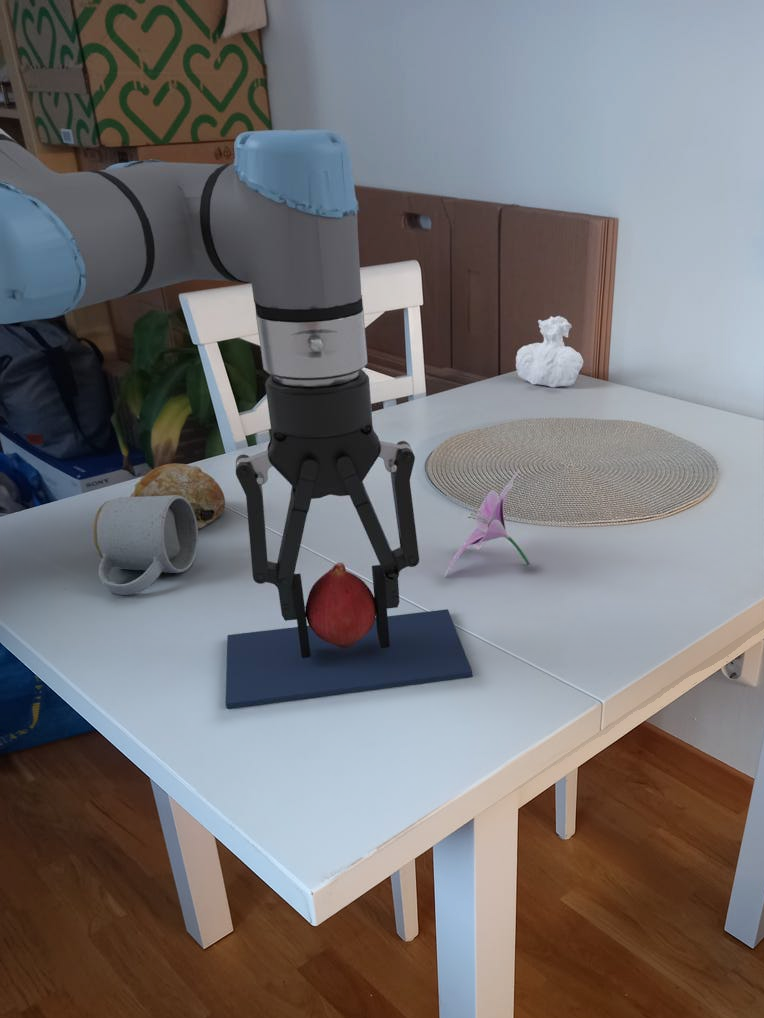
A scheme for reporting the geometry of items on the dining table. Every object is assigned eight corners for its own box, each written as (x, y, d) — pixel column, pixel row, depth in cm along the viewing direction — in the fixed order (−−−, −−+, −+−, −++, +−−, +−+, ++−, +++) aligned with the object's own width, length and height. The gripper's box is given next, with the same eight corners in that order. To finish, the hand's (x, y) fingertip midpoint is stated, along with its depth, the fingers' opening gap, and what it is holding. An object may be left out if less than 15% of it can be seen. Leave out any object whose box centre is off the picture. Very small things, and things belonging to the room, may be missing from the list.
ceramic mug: (131, 548, 99) (115, 481, 95) (204, 552, 98) (191, 484, 94) (82, 597, 90) (62, 525, 86) (161, 601, 89) (145, 528, 85)
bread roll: (170, 568, 103) (180, 514, 98) (106, 515, 105) (112, 459, 100) (234, 535, 110) (247, 483, 105) (173, 486, 112) (182, 433, 107)
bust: (582, 400, 151) (603, 335, 151) (567, 380, 144) (589, 312, 144) (518, 390, 156) (539, 327, 157) (501, 370, 149) (522, 305, 150)
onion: (306, 666, 77) (295, 580, 72) (314, 630, 82) (305, 548, 77) (376, 664, 77) (369, 578, 73) (380, 629, 82) (374, 547, 78)
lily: (502, 537, 103) (457, 468, 98) (586, 523, 94) (542, 446, 90) (448, 610, 96) (398, 539, 92) (534, 602, 88) (483, 523, 83)
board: (226, 709, 73) (225, 703, 73) (228, 639, 82) (227, 634, 82) (472, 676, 77) (472, 671, 77) (448, 613, 86) (447, 608, 86)
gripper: (178, 396, 62) (230, 682, 74) (454, 376, 66) (461, 653, 78) (184, 368, 69) (231, 636, 80) (435, 351, 72) (445, 610, 84)
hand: (344, 644), depth 79 cm, fingers closed on onion, 6 cm apart
